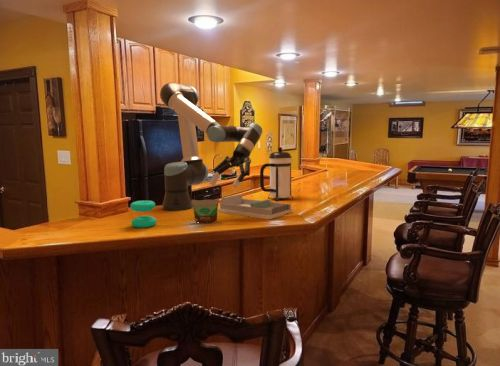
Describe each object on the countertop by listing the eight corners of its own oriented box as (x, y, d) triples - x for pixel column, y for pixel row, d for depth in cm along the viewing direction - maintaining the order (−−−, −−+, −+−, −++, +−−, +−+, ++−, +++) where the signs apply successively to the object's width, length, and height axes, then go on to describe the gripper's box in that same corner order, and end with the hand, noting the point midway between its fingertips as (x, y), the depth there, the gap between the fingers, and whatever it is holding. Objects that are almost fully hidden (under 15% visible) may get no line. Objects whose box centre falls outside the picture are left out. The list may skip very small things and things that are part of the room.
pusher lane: (218, 211, 180) (217, 198, 179) (243, 205, 196) (243, 193, 195) (268, 219, 162) (268, 204, 161) (292, 211, 177) (292, 198, 176)
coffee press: (272, 196, 224) (271, 146, 220) (297, 198, 217) (297, 146, 213) (259, 201, 209) (259, 147, 205) (286, 202, 202) (286, 147, 198)
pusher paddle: (242, 209, 174) (242, 202, 174) (259, 205, 185) (259, 198, 185) (253, 211, 171) (253, 203, 170) (269, 206, 181) (269, 199, 181)
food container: (193, 225, 154) (192, 201, 152) (191, 221, 160) (190, 199, 158) (222, 222, 157) (222, 199, 156) (219, 219, 163) (219, 197, 162)
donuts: (159, 202, 152) (135, 205, 146) (160, 225, 154) (137, 229, 147) (149, 199, 160) (126, 201, 154) (150, 221, 161) (127, 225, 155)
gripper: (268, 156, 170) (248, 192, 160) (227, 155, 185) (207, 188, 175) (261, 145, 165) (240, 182, 155) (219, 145, 180) (198, 178, 170)
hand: (222, 185), depth 165 cm, fingers open, 13 cm apart
